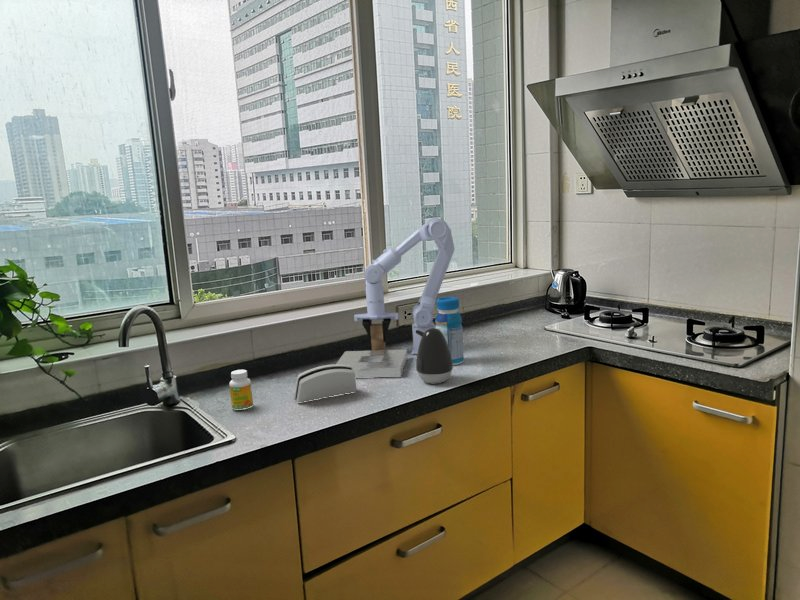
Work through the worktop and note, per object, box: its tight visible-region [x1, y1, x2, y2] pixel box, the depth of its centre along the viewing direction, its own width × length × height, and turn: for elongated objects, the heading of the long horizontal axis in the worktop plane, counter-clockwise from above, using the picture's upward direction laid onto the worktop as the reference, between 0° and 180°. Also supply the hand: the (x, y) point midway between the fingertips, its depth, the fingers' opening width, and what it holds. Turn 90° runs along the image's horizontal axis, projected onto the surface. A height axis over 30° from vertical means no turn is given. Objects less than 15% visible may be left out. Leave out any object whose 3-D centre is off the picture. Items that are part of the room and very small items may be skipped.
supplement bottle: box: [229, 369, 254, 409], centre depth 155 cm, size 5×5×10 cm
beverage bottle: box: [434, 296, 465, 366], centre depth 183 cm, size 8×8×20 cm
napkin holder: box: [293, 363, 357, 403], centre depth 159 cm, size 17×5×10 cm, turn 114°
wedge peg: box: [370, 322, 387, 351], centre depth 198 cm, size 4×4×8 cm
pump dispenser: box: [415, 328, 454, 384], centre depth 166 cm, size 10×10×15 cm
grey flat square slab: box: [335, 349, 408, 379], centre depth 183 cm, size 20×20×3 cm
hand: (378, 341), depth 198 cm, fingers closed on wedge peg, 4 cm apart
